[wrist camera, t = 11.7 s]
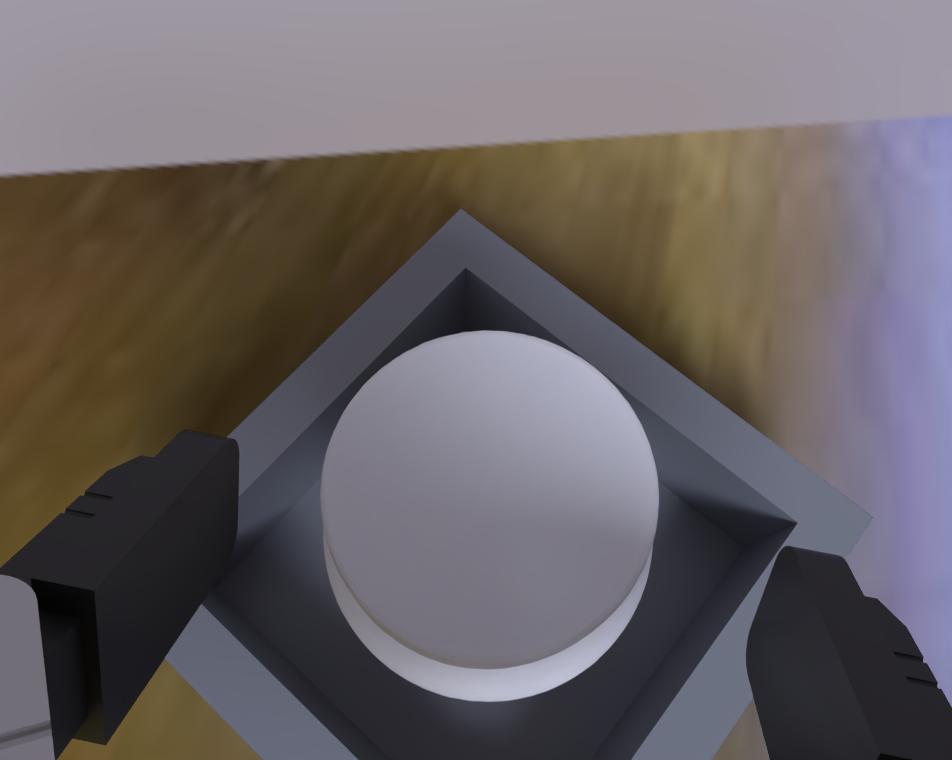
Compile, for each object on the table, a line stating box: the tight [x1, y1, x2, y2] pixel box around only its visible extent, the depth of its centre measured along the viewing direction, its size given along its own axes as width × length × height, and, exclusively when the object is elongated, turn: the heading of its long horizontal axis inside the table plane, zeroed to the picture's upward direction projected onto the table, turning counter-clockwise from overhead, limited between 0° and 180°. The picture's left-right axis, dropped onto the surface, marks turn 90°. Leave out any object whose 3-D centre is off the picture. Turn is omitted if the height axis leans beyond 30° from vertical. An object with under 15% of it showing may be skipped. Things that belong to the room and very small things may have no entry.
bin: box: [165, 209, 873, 760], centre depth 19 cm, size 12×12×4 cm
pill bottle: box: [320, 330, 659, 702], centre depth 15 cm, size 6×6×10 cm
